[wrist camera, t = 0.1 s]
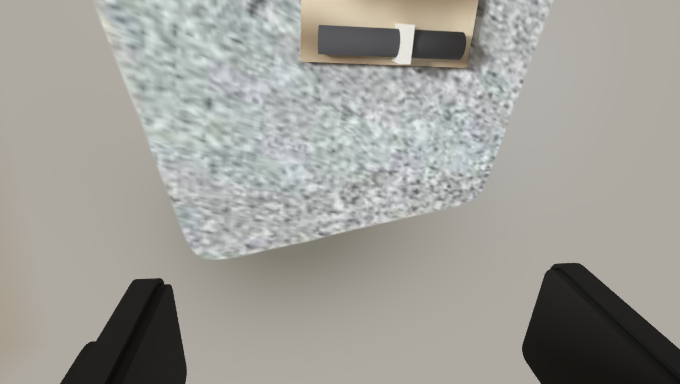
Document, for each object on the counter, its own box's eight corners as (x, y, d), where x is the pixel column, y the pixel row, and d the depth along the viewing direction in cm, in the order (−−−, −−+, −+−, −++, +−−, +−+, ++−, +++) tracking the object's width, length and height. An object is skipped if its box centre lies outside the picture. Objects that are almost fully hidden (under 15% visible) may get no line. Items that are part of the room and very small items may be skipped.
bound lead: (317, 19, 34) (320, 20, 31) (456, 26, 36) (471, 27, 33) (317, 57, 36) (319, 61, 33) (450, 62, 37) (464, 66, 34)
